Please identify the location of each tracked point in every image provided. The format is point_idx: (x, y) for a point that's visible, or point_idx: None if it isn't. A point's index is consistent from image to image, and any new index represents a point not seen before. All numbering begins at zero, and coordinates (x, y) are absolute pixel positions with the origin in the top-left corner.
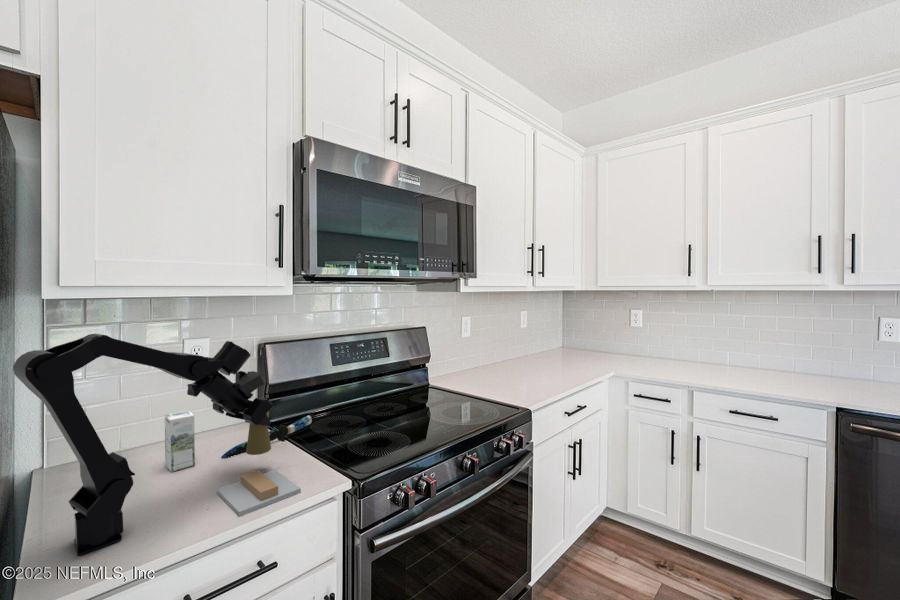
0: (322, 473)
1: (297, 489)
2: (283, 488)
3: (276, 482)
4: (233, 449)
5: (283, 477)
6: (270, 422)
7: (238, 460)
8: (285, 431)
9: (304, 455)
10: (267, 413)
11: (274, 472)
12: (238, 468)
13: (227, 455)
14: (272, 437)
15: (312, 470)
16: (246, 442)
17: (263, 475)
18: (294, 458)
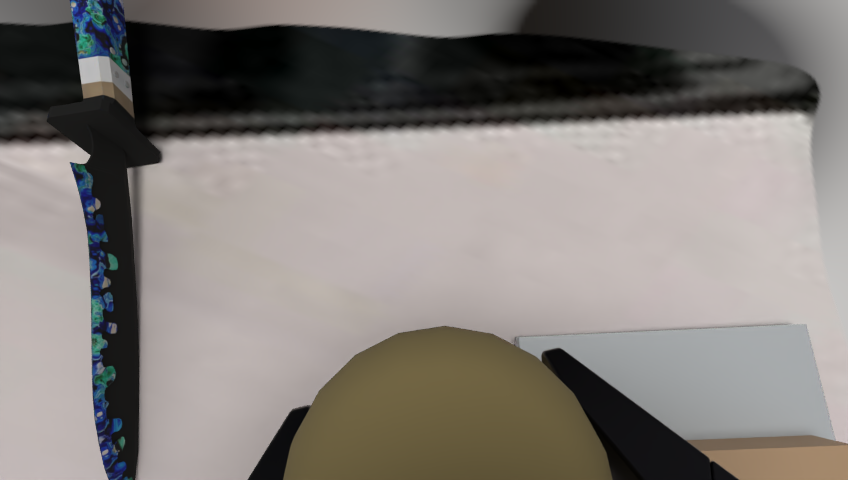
0: (660, 173)
1: (809, 340)
2: (760, 389)
3: (671, 390)
4: (110, 437)
5: (636, 340)
6: (566, 353)
7: (216, 426)
8: (126, 121)
9: (411, 152)
10: (564, 386)
11: None
12: None
13: (127, 469)
14: (118, 197)
15: (599, 193)
16: (97, 352)
17: None
18: (409, 200)
